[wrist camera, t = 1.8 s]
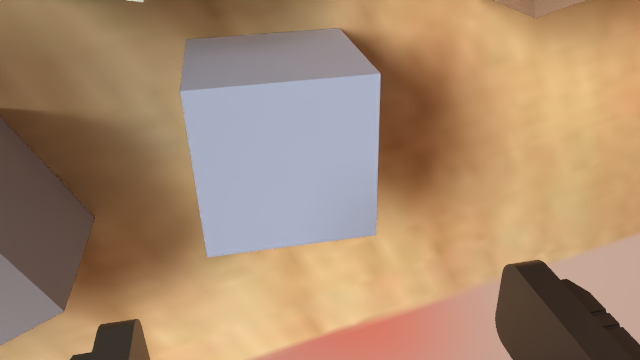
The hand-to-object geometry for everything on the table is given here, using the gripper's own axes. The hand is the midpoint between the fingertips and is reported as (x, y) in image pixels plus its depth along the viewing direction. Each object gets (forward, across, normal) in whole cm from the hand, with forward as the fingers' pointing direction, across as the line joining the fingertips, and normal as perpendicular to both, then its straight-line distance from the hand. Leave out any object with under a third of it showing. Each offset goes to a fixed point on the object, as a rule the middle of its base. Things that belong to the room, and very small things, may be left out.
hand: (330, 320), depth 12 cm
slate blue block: (+13, 0, 0) cm, 13 cm away
